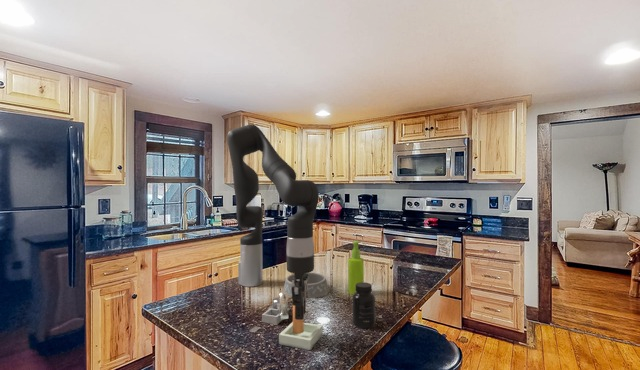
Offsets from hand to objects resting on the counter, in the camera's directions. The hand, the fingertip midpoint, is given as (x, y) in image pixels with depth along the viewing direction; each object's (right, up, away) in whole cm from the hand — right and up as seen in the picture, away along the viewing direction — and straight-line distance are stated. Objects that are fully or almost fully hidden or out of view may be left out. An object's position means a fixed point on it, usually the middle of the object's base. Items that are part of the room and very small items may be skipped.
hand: (300, 315), depth 85 cm
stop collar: (-9, -6, +12) cm, 17 cm away
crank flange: (-11, -6, +13) cm, 18 cm away
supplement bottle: (+19, -7, +9) cm, 22 cm away
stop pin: (-1, -4, 0) cm, 4 cm away
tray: (0, -6, 0) cm, 6 cm away
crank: (-7, -5, +14) cm, 16 cm away
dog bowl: (0, -7, +40) cm, 40 cm away
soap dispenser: (+20, -7, +38) cm, 43 cm away
